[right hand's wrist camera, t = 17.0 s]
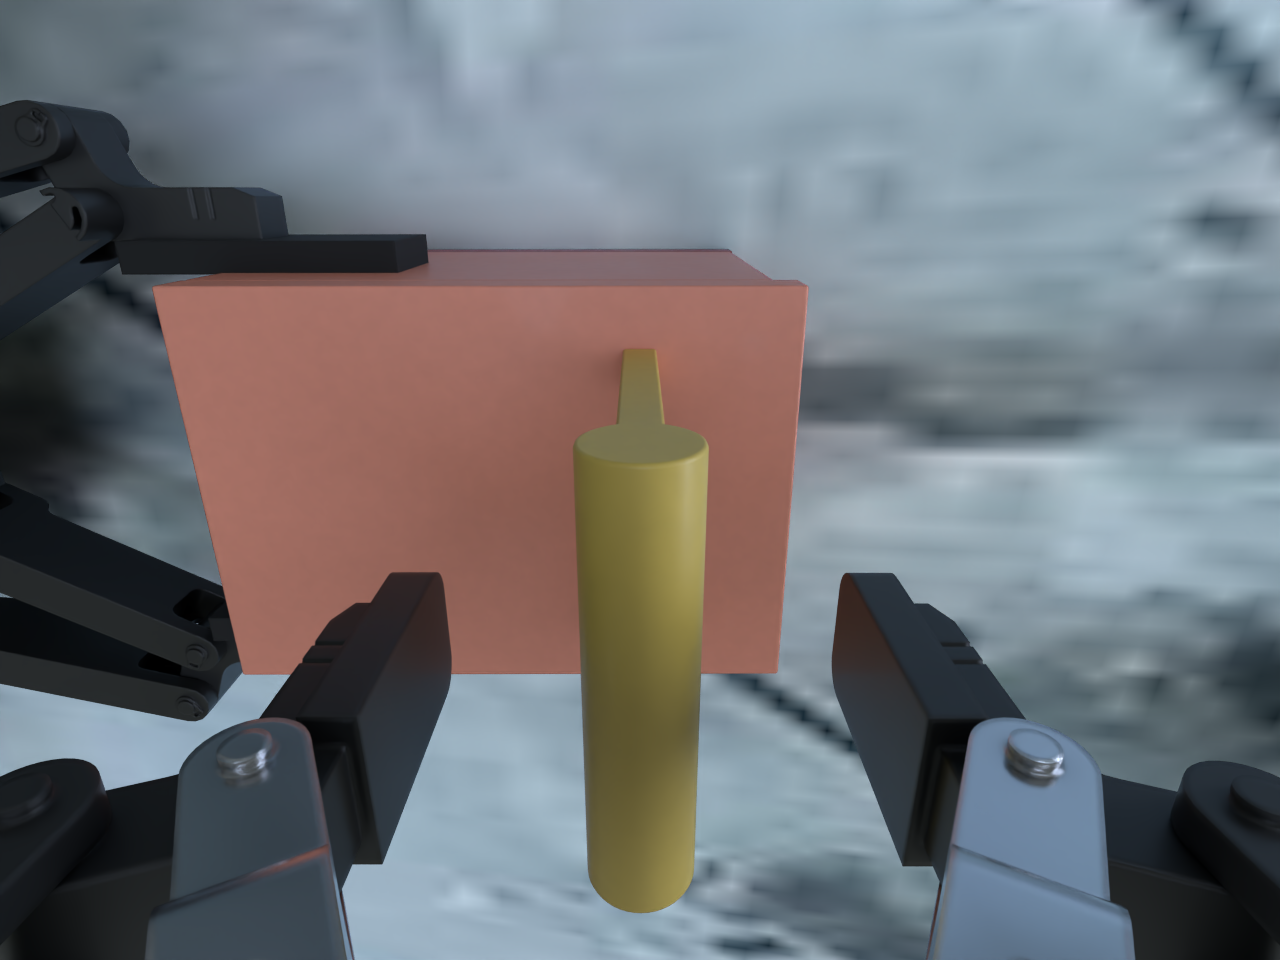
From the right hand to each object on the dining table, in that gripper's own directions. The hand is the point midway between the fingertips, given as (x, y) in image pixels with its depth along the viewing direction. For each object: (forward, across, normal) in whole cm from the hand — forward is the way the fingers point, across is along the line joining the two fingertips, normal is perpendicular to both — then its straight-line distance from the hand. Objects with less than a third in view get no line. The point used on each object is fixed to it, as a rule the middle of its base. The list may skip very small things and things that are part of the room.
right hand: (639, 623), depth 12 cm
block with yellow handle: (+6, +3, 0) cm, 7 cm away
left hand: (+9, +6, 0) cm, 11 cm away
